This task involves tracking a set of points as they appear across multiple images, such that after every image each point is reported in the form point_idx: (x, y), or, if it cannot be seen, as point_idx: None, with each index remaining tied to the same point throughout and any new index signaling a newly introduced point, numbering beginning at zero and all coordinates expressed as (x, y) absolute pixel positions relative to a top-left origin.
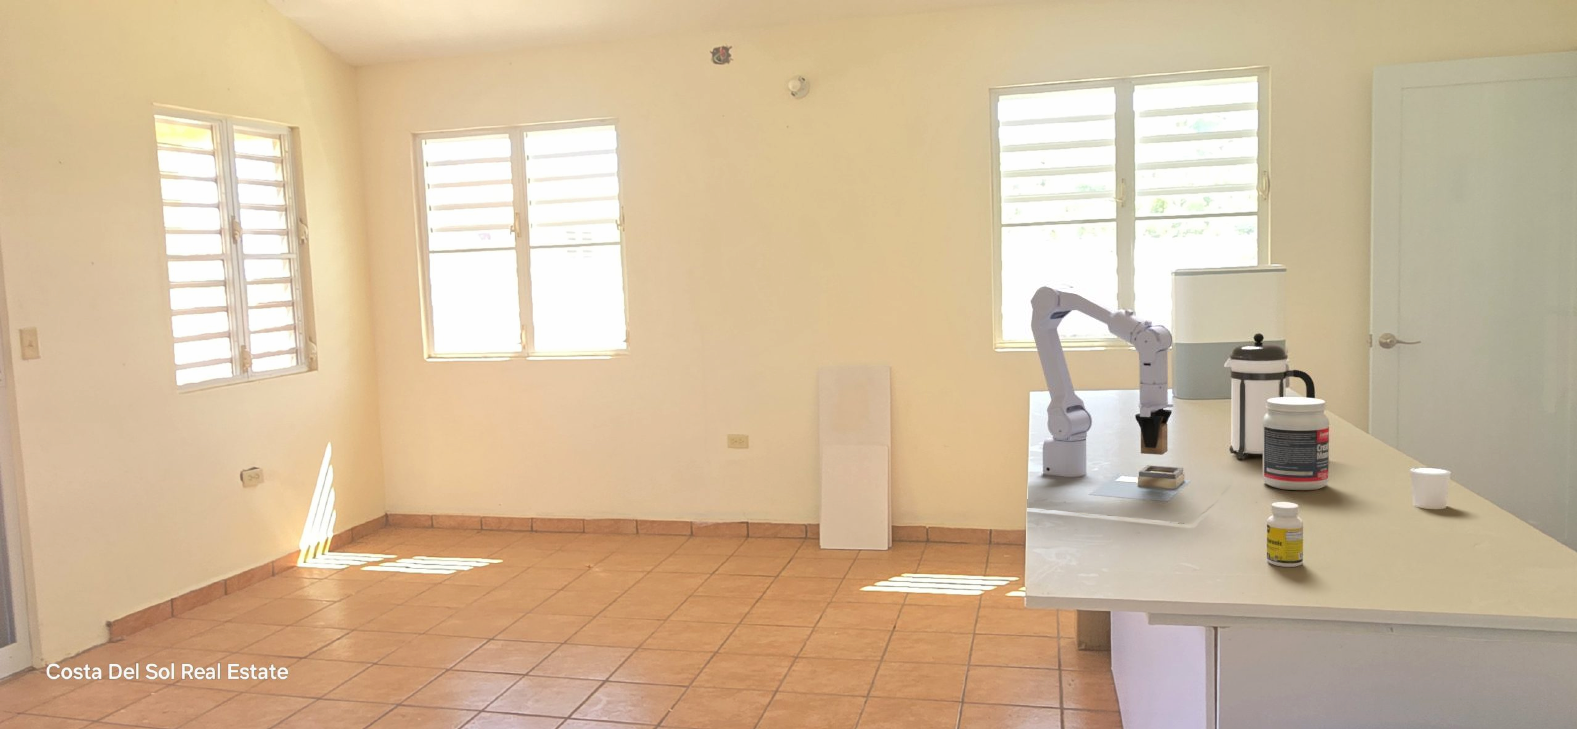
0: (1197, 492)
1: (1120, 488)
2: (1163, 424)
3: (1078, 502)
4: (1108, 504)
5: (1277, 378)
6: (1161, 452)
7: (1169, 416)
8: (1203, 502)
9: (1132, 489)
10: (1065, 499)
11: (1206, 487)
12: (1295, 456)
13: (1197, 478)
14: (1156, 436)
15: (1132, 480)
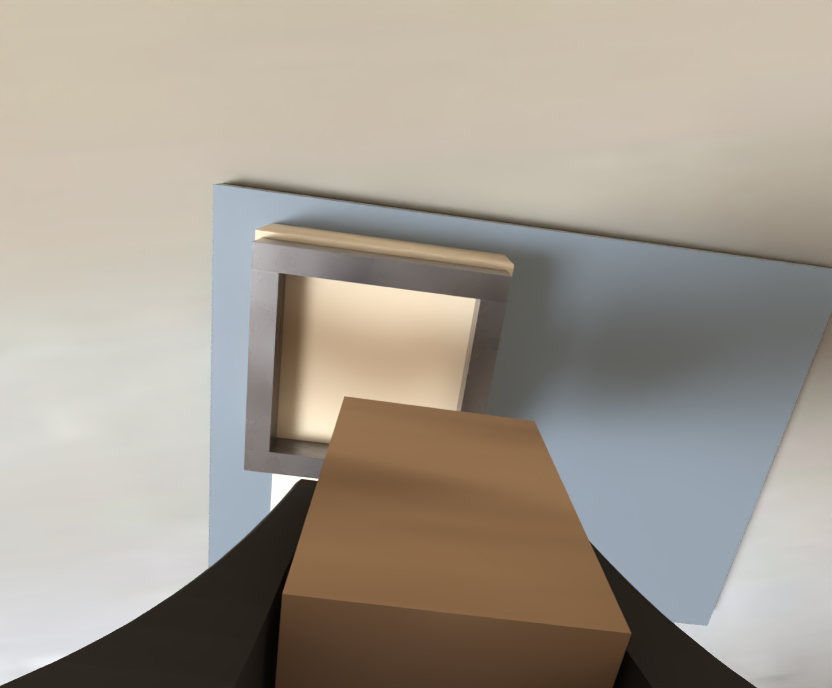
0: (469, 126)
1: None
2: (374, 636)
3: (781, 634)
4: (815, 526)
5: None
6: (539, 437)
7: (80, 672)
8: (741, 68)
9: (568, 469)
10: None
11: (308, 78)
12: None
13: (58, 156)
14: (633, 587)
15: None
